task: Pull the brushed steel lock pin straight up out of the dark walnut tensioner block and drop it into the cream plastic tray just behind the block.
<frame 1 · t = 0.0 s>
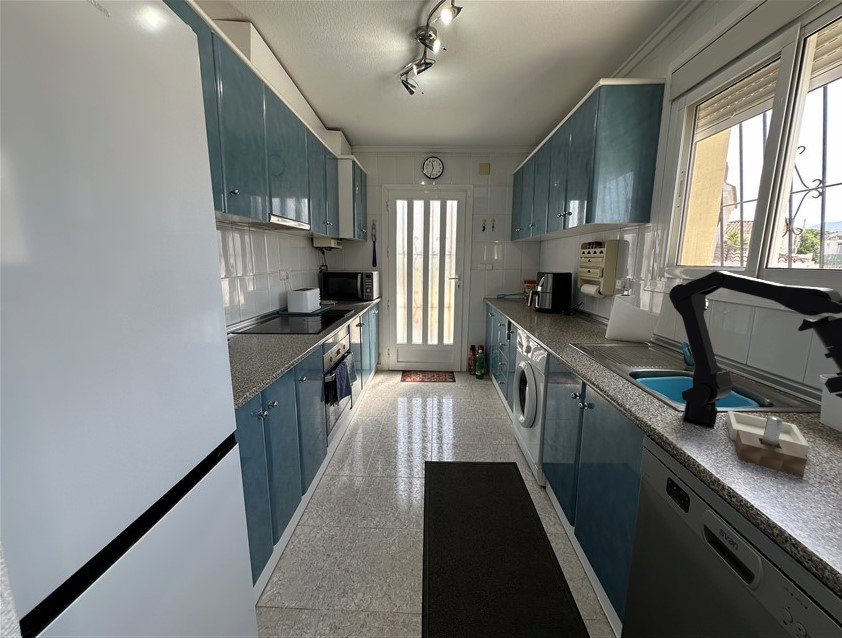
lock pin: (770, 439, 77), in the tensioner block
tray: (762, 437, 87), on the table
tensioner block: (766, 459, 78), on the table
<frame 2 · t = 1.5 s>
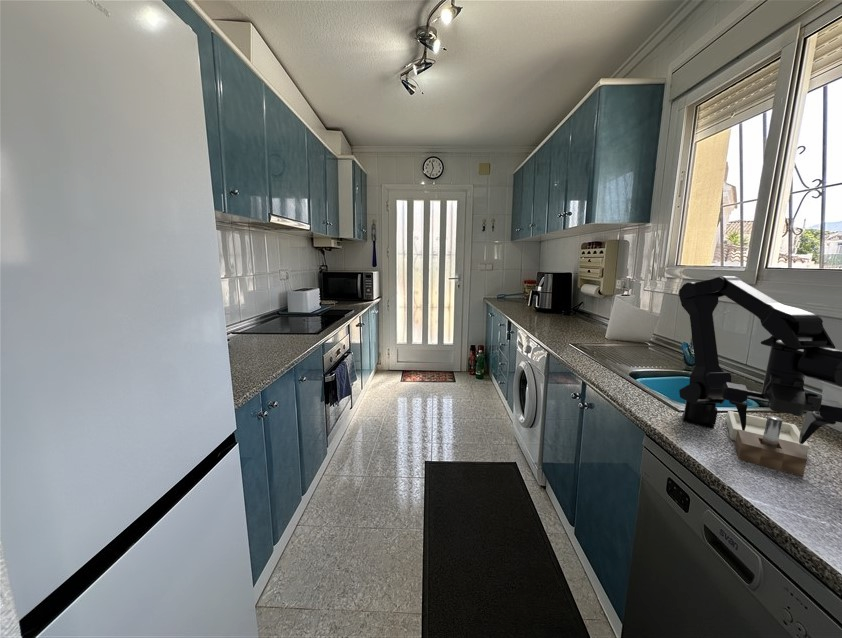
hand: (770, 436, 77), 6 cm above the table, tool pointing down, fingers open, 9 cm apart
nothing on the table moved.
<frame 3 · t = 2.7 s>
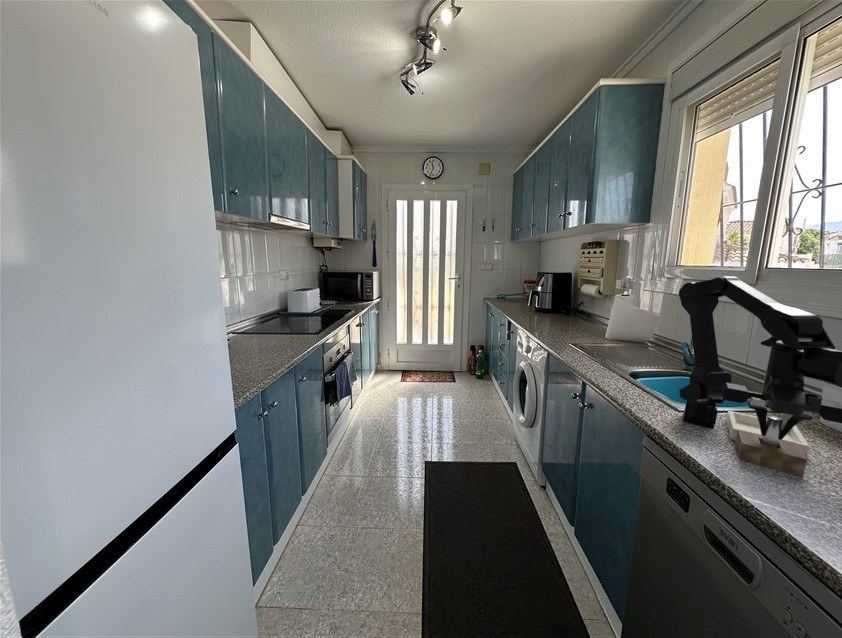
hand: (771, 436, 77), 6 cm above the table, tool pointing down, fingers closed on lock pin, 2 cm apart
lock pin: (770, 439, 77), in the tensioner block, touching gripper
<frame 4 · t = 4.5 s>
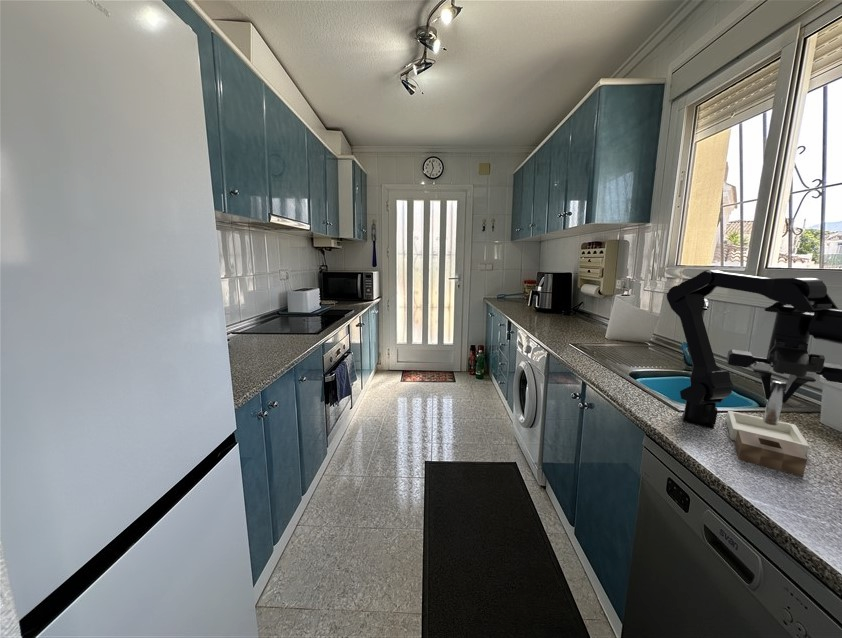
hand: (775, 400, 78), 13 cm above the table, tool pointing down, fingers closed on lock pin, 2 cm apart
lock pin: (774, 402, 79), point 12 cm above the table, touching gripper
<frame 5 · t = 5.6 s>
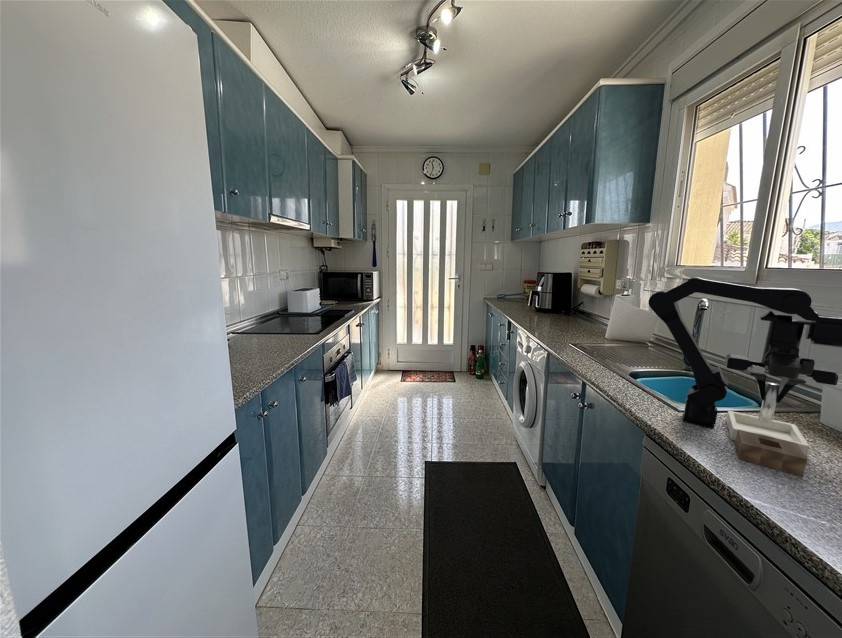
hand: (769, 400, 85), 10 cm above the table, tool pointing down, fingers closed on lock pin, 2 cm apart
lock pin: (769, 402, 86), point 9 cm above the table, touching gripper
when the fingers open (8 cm above the table, at t = 6.5 s): lock pin drops 1 cm, resting on tray.
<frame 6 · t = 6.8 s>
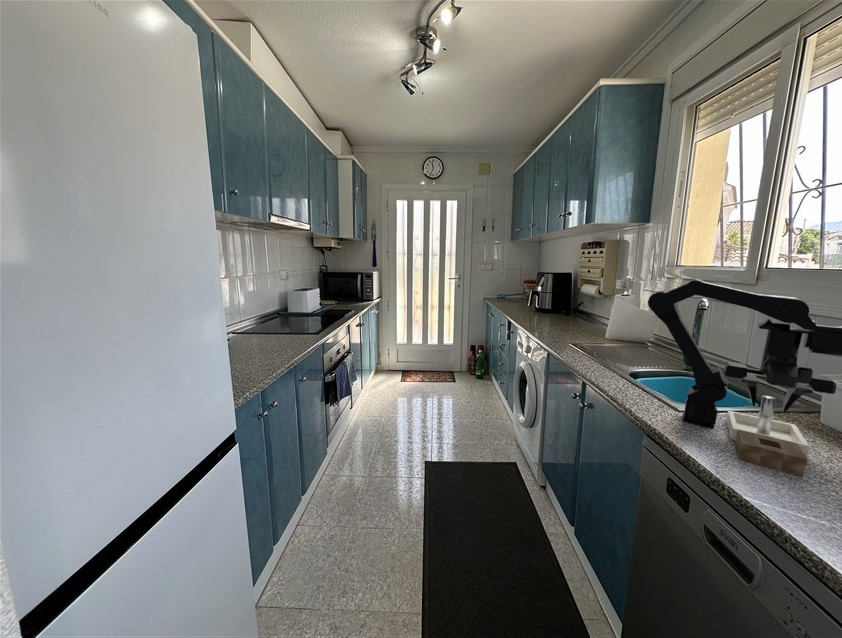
hand: (768, 408, 86), 8 cm above the table, tool pointing down, fingers open, 5 cm apart
lock pin: (765, 416, 86), in the tray, point 6 cm above the table
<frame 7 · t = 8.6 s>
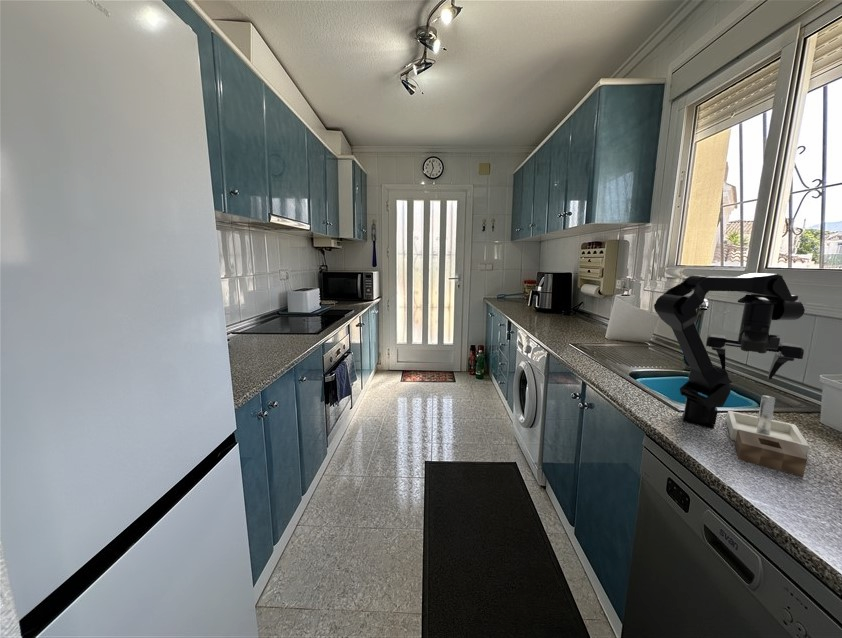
hand: (745, 375, 95), 13 cm above the table, tool pointing down, fingers open, 9 cm apart
nothing on the table moved.
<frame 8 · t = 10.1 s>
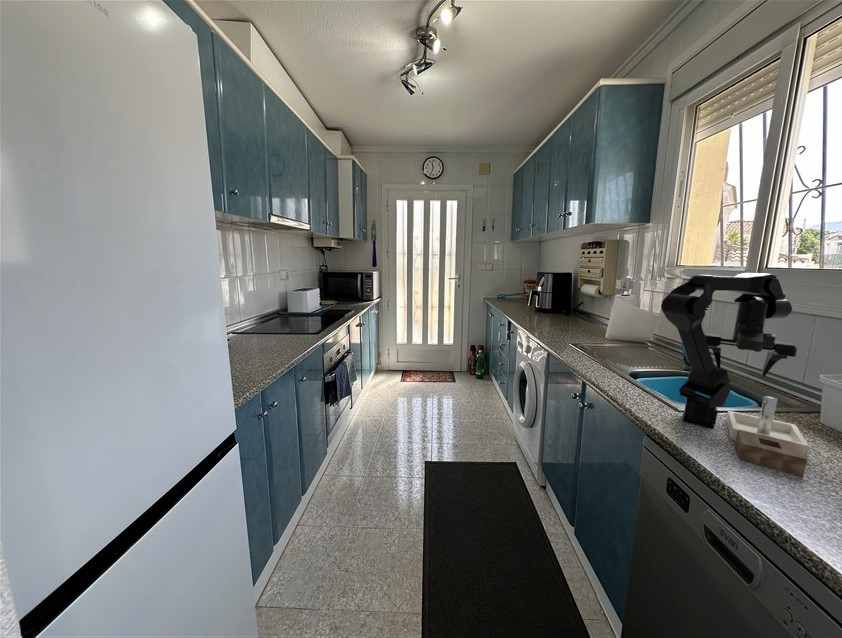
hand: (739, 373, 96), 13 cm above the table, tool pointing down, fingers open, 9 cm apart
nothing on the table moved.
at the end: lock pin inside the target area on the tray (0.0 cm from its centre), point 5.9 cm above the tray's base; the gripper is holding nothing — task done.
